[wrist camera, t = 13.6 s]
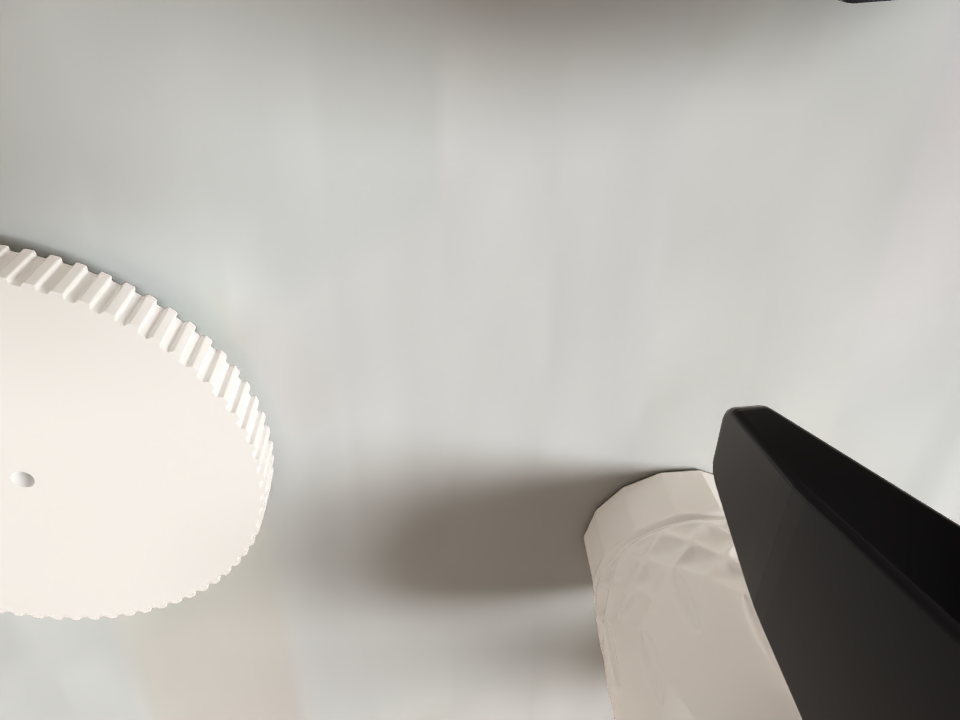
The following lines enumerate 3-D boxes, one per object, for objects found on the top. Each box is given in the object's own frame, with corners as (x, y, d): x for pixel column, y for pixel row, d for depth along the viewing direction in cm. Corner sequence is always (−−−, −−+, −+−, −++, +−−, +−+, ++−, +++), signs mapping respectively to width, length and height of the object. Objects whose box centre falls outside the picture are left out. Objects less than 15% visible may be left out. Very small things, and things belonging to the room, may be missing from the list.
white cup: (671, 424, 24) (806, 705, 16) (803, 508, 27) (972, 777, 19) (528, 548, 27) (578, 833, 19) (661, 609, 30) (752, 876, 22)
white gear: (289, 563, 27) (278, 619, 25) (-95, 559, 25) (-141, 620, 23) (263, 243, 19) (244, 286, 17) (-300, 206, 17) (-398, 250, 15)
